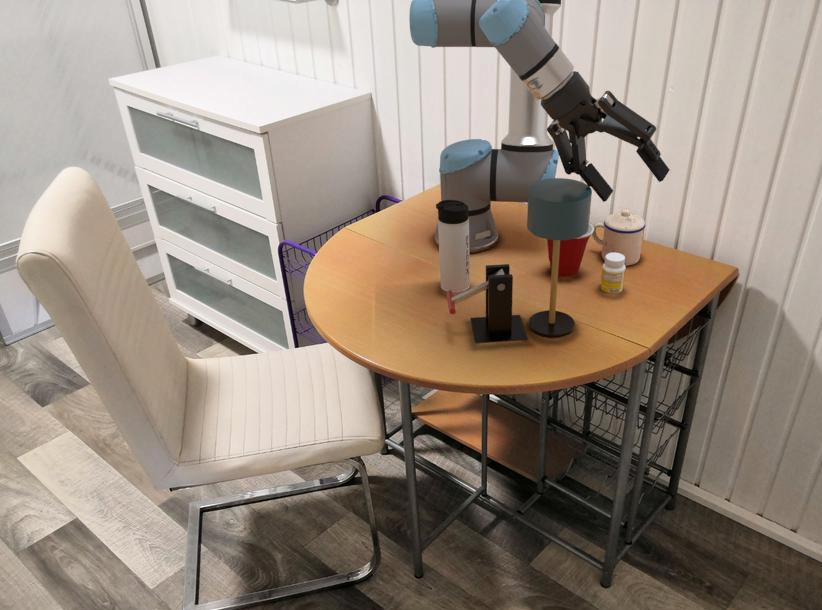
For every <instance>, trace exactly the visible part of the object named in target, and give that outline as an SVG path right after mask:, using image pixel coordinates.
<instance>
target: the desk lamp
mask: <svg viewBox="0 0 822 610" xmlns="http://www.w3.org/2000/svg"><path fill="white" fill-rule="evenodd" d="M592 193H593V189H592V187H590V186H588V185H587V184H586V182H584V181H583V182H582V181H581V180H576V179H572V178H565V177H564V178H563V177H555V178H551V179H544V180H540V181H537V182H535V183H533V184H531V185H530V187H529V189H528V202H527V214H526V215H527V216H526V217H527V218H526V228H527V231H528V232H529V233H531V234H532V235H534V236H535V237H538V238H541V239H546V240H547V239H550V240H553V257H552V273H551V276H550V293H549V307H548V308H549V309H548V310H541V311H538V312H535V313H534V314H532V315H531V316H530V317H529V319H528V328H529V330H530V331H531V332H532V333H533V334H535V335H537V336H539V337H542V338H547V339H560V338H564V337H567V336H569V335H571V334H572V333H573V332H574V330H575V328H576V322H575V319H574V318H573V317H572V316H571V315H569V314H568V313H565V312H563V311H559V310H556V309H557V296H558V295H557V294H558V293H557V292H558V280H559V276H558V266H559V250H560V240H570V239H575V238H578V237H581V236H583V235H584V234H586V233H587V231H588V229H589V223H590V218H591V217H590V216H591V207H592V206H591V205H592Z"/></svg>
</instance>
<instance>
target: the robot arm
mask: <svg viewBox="0 0 822 610" xmlns="http://www.w3.org/2000/svg"><path fill="white" fill-rule="evenodd" d="M561 7H562V0H411V2H410V6H409V17H408V18H409V20H408V21H409V33H410V39H411V41H412V43H413V44H414V45H416V46H419V47H431V48H494V49H495V50H497V52H498V53H499V54H500V56H501V57H502V58H503V59H504V61H505V62H506V63H507V64H508V65H509V67H510V69H509V97H508V99H509V100H508V130H507V131H508V132H507V134H506V135H505V137H503V139H501V141H500V148H493V146H492V144H491V142H490V141H489V140H487V139H482V138H471V139H464V140H460V141H456V142H453V143H450V144H449V145H447V146H445V147H444V148H443V150H442V151H441V153H440V156H439V168H438V171H439V180H440V181H439V182H440V201H443V200H457V201H461V202H463V203H464V204H466V205H467V206H468V211H469V213H468V215H469V254H477V253H482V252H485V251H487V250H490V249H492V248H493V247H495V246H496V245H497V244H498V242H499V230H498V227H497V224H496V221H495V218H494V215H493V212H492V206H491V205H492V204H491V203H492V202H498V203H499V202H501V203H502V202H503V203H504V202H505V203H507V202H508V203H528V189H529V187H530V185H531V184H533V183H535V182H537V181H540V180H544V179H551V178H556V175H557V169H558V164H559V163H558V162H559V159H560V162H561V164H562V167H563V170H564V172H565V174H566V175H567V176H569V175H570V176H571V174H575V175H578V176H579V177H580V178H581V179H582V180H583V182H584V183H585V184H587V185H588V186H589V187H590V188H591V189H592V191H594V192H595V193H596V195H597V196H598V197H599V199H600V200H601V201H602V202H603V203H605V202H607V201H608V200H609V198H610V197H611V195H612V194H613V192H614V190H613V188H612V187H611V185H610V184H609V183H608V182H607V180H606V179H605V178H604V177H603V176H602V175H601V173H600V172H599V171H598V169H597V168H596V167H595V165H594V164H593V163H592V162H590V163H589V160H587V153H586V152H587V151H586V149H587V148H586V137H587V136H588V135H590V134H594V133H596V132H598V133H606V134H608V135H610V136H613V137H615V138H617V139H619V140H621V141H624V142H626V143H628V144H630V145H633V146H634V147H636V148H637V149H636V150H635V152H636V154H637V155H638V156H639V158H640V159H641V160H642V161H643V163H644V164H645V165H646V167H647V168H648V170H649V171H650V172H651V173H652V175H653V176H654V178H656V180H657V181H658V183H660V182H663V181H664V180H665V178H666V177H667V175H668V174H669V172H670V171H671V170H670V168H669V166H667V164H666V162H664V160H663V159H662V157H661V156H662V154H661V150H659V149H658V147H657V145H655V143H654V142H653V140H652V138H653V136H654V134H655V133H656V131H657V126H656V125H654V124H653V123H652V122H650V121H648V120H647V119H646V118H644V117H643V116H642V115H640V114H638V113H637V112H636V111H634V110H633V109H631V108H630V107H628V106H627V105H625V104H624V103H622V102H621V101H619V100H618V98H617V97H616V96H615V95H614V94H613V92H612V91H610V90H605V91H604V93H603V94H602V95H601V97H598V98H595V97H593V95H592V94H591V90H590V86H589V84H588V83H587V82H586V81H585V79H584V78H583V76H582V74H580V73H579V71H575V70H574V69H575V65H574V64H573V63H572V61H571V60H570V59H569V58H568V57H567V55H566V54H565V53H564V51H563V50H562V49H561V48H560V45H558V43H557V42H556V41H555V39H553V24H554V23H553V22H554V15H555V13H557V11H558V10H559V9H560V8H561ZM548 117H550V118H551V120H552V121H551V122H550V124H549V125H548V122H549V121H548V120H549V118H548ZM550 137H551V138H550ZM554 145H555V148H556V149H554ZM434 242H435V244H436V246H437V247H439V232H438V222H437V223H436V227H435V229H434Z"/></svg>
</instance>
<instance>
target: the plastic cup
mask: <svg viewBox="0 0 822 610" xmlns="http://www.w3.org/2000/svg"><path fill="white" fill-rule="evenodd" d="M593 226H594V224H592V223H590V222H589V229H588V231H587V233H586V234H584V235H583V236H581V237H578V238H575V239H570V240H560V250H559V266H558V277H563V278H570V277H574V276H576V275H578V274H579V273H580V272H579V271H580V269H581V264H582V262H583V258H584V256H585V250H586V248H587V245H588V242H589V239H590V237H591V236H592V233H593V231H594V227H593ZM546 243H547V244H546V245H547V252H548V254H547V255H548V262H549V267H550V273H551V274H552V257H553V240H550V239H546Z"/></svg>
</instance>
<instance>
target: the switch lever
mask: <svg viewBox="0 0 822 610" xmlns="http://www.w3.org/2000/svg"><path fill="white" fill-rule="evenodd" d="M491 275H505V273H504V271H503V269H500V270H498V271H496V272H494V273H492V274H490V275H489V276H491ZM486 289H488V281H486V280H485V281H484V282H482V283H480V284H478V285H476V286H474V287H471V288H468V289H467V290H466V291H464V292H460V293H458V294H457V295H454V293H453V292H452V291H451V290H449V291H447V292H446V299H447V306H448V311H449V312H448V313H449V314H450V315H456V313H457V310H456V305H457V304H458V303H461V302H463V301H465V300H467V299H470V298H471V297H473V296H476V295H478V294H480V293H482V292H484V291H486Z"/></svg>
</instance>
